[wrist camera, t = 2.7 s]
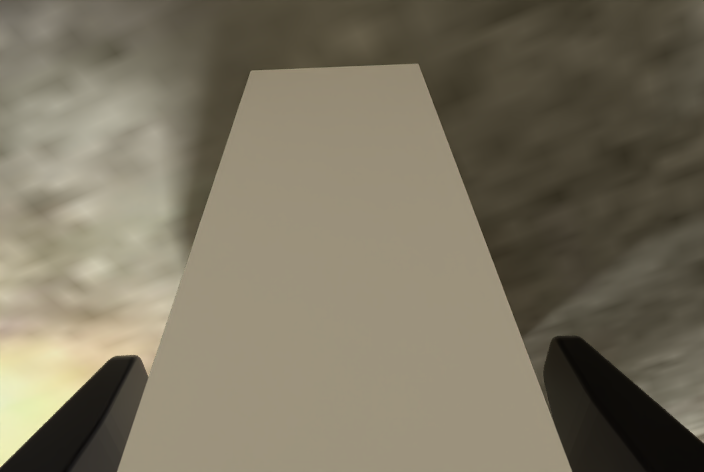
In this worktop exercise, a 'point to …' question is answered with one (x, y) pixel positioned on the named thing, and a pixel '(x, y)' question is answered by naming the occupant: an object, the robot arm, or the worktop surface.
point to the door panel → (340, 300)
